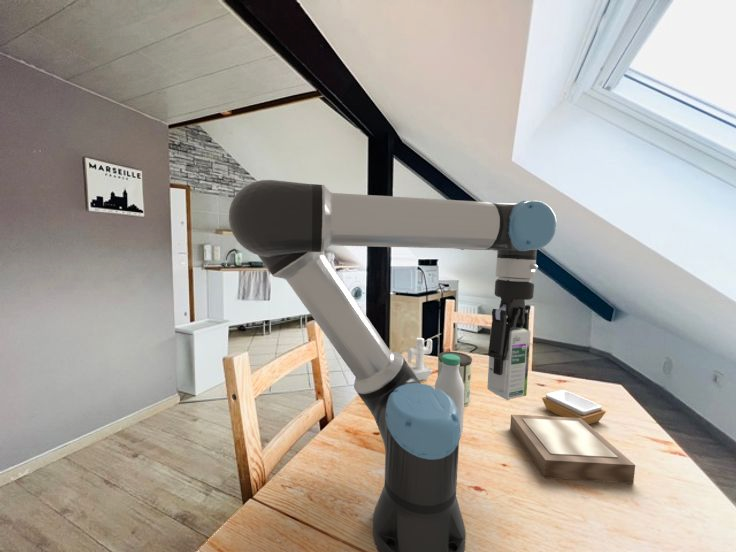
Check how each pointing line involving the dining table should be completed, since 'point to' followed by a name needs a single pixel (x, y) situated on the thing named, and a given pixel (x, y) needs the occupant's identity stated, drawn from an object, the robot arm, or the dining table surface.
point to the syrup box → (514, 365)
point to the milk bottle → (452, 383)
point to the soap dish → (573, 406)
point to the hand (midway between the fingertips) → (506, 383)
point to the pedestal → (570, 449)
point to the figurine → (420, 358)
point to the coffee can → (461, 372)
